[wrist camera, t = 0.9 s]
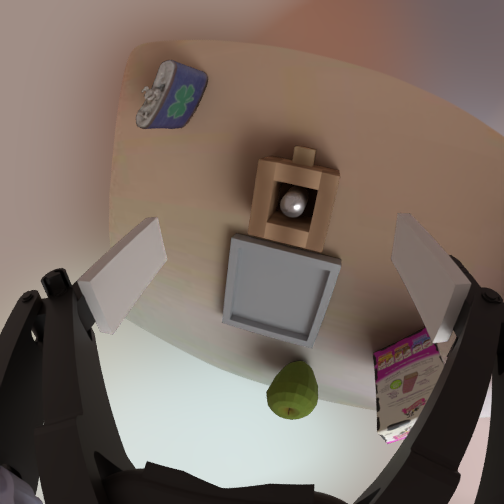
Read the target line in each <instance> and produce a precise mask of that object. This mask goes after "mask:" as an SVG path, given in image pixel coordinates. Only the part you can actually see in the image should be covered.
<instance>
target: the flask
mask: <svg viewBox="0 0 504 504" xmlns="http://www.w3.org/2000/svg"><path fill="white" fill-rule="evenodd" d="M207 82H208V76H207V75H206V73H205V72H203V71H200V70H197V69H195V68H192V67H189V66H186V65H184V64H181V63H178V62H175V61H173V60H167V61H165V62H162V64H161V65H160V67H159V70H158V73H157V75H156V78H155V81H154V83H153V85H152V88H151V89H149V88H148V86H146V87H145V88H144V89H143V90H142V93H143V92H144V91H146V94H145V95H144V96H145V99H146V100H145V102H144V104H143V106H142V107H141V109H140V110H139V111H138V113H137V115H136V124H137V126H138V127H140V128H142V129H152V128H166V129H167V128H168V129H175V128H183V127H184V126H185V125H186V124H187V123H188V122H189V121H190V119H191V118H192V116H193V114H194V113H195V111H196V109H197V107H198V105H199V102H200V101H201V98H202V96H203V93H204V91H205V88H206V86H207Z"/></svg>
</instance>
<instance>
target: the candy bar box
mask: <svg viewBox="0 0 504 504" xmlns="http://www.w3.org/2000/svg"><path fill="white" fill-rule="evenodd" d="M373 358H374V370H375V385H376V406H377V433H378V434H379V435H380V436H381V437H382V438H383V439H384V440H385V442H386V443H387V444H389V443H392V442H395V441H398V440H401V439H404V438H406V436H407V435H408V433H409V432H410V430H411V428H412V427H413V425H414V424H415V422H416V420H417V418H418V417H419V415H420V413H421V411H422V410H423V408H424V406H425V404H426V402H427V400H428V398H429V397H430V395H431V393H432V391H433V389H434V387H435V385H436V383H437V380H438V378H439V376H440V374H441V372H442V370H443V367H444V363H443V359H442V356H441V353H440V350H439V348H438V345H437V343H432V341H431V338H430V336H429V334H428V332H427V329H426V327H425V328H423V329H422V330H420V331H418V332H416V333H414V334H412V335H410V336H408V337H406V338H405V339H403V340H401V341H399V342H397V343H395V344H393V345H391V346H388V347H386V348H384V349H382V350H380V351H378V352H375V353H373Z"/></svg>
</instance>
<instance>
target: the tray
mask: <svg viewBox="0 0 504 504" xmlns="http://www.w3.org/2000/svg"><path fill="white" fill-rule="evenodd" d="M340 268H341V259H338V258H334V257H330V256H326V255H322V254H318V253H314V252H310V251H306V250H302V249H298V248H295V247H291V246H286V245H282V244H278V243H274V242H270V241H266V240H262V239H258V238H254V237H250V236H246V235H242V234H238V233H236V234H235V235H234V236H233V237H232V238H231V246H230V254H229V263H228V272H227V281H226V290H225V299H224V309H223V319H222V323H224V324H227V325H231V326H234V327H237V328H240V329H244V330H247V331H250V332H254V333H257V334H260V335H264V336H267V337H271V338H275V339H278V340H282V341H285V342H289V343H293V344H297V345H301V346H305V347H309V348H312V347H313V345H314V342H315V340H316V337H317V335H318V332H319V329H320V327H321V324H322V321H323V318H324V316H325V313H326V310H327V307H328V304H329V301H330V298H331V296H332V293H333V290H334V287H335V284H336V281H337V277H338V274H339V271H340Z"/></svg>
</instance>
